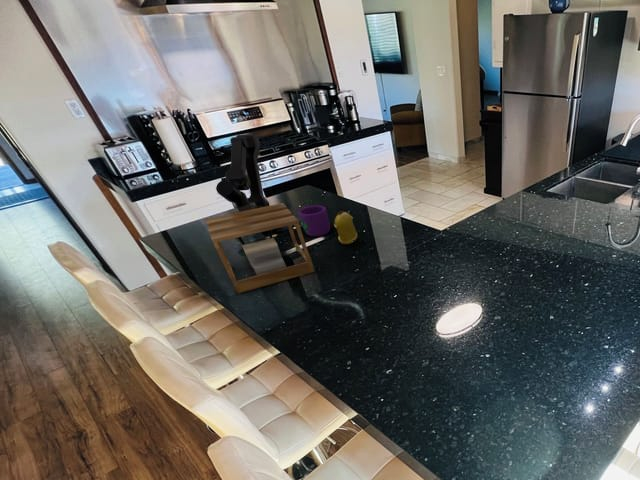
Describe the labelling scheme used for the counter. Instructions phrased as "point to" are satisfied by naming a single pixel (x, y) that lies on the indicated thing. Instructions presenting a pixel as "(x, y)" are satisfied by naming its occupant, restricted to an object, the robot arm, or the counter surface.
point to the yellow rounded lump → (345, 228)
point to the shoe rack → (252, 224)
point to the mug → (314, 220)
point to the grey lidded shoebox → (264, 256)
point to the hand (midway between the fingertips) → (259, 245)
